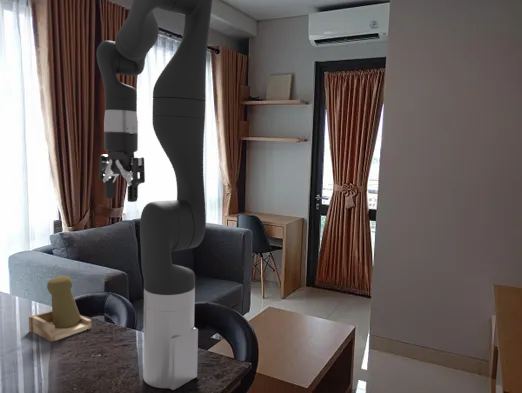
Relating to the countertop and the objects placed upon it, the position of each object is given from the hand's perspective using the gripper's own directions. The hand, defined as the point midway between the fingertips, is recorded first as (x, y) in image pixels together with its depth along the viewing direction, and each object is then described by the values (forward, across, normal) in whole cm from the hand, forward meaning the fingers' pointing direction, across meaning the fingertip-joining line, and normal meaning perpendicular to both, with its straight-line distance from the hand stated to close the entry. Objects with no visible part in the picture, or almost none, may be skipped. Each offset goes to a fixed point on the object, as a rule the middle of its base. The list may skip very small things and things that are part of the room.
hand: (120, 199), depth 102 cm
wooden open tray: (+30, -6, -12) cm, 33 cm away
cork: (+29, -6, -10) cm, 31 cm away
